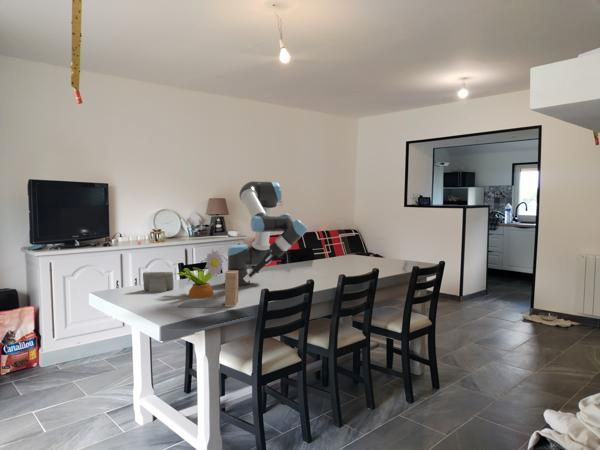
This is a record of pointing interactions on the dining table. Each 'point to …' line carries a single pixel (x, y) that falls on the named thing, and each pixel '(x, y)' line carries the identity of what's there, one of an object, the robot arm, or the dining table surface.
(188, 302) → the slate mat
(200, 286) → the decorative plant
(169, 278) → the digital clock
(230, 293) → the wooden block
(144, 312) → the dining table surface
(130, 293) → the dining table surface
